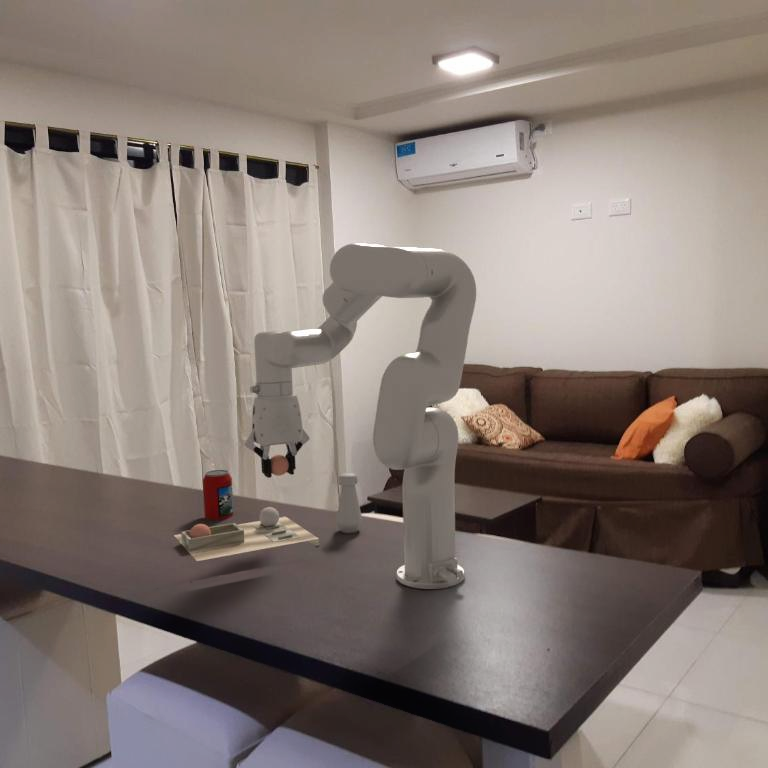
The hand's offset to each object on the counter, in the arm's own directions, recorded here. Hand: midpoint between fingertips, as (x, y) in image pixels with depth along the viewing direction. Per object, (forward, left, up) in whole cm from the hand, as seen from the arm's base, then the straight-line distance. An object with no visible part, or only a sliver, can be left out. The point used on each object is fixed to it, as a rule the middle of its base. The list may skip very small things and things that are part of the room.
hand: (279, 474), depth 164 cm
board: (+4, +7, -15) cm, 17 cm away
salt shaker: (0, -16, -15) cm, 22 cm away
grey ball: (+8, 0, -14) cm, 16 cm away
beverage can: (+24, +7, -15) cm, 29 cm away
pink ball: (+4, +17, -14) cm, 22 cm away
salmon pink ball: (0, 0, 0) cm, 0 cm away
